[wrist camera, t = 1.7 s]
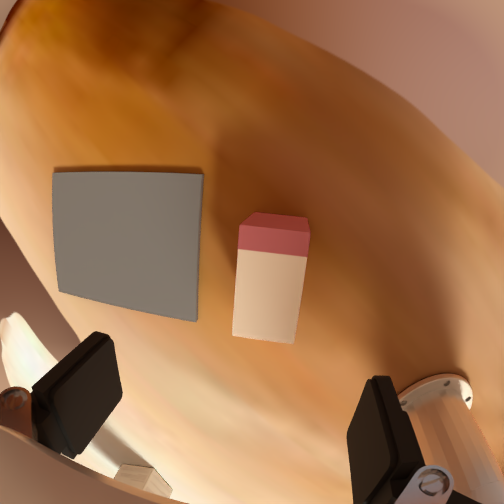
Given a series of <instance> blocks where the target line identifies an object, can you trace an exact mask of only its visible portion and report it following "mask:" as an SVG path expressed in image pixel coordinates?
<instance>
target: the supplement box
mask: <svg viewBox="0 0 504 504" xmlns="http://www.w3.org/2000/svg"><path fill="white" fill-rule="evenodd" d="M114 480H117V481H119V482H122V483H125V484H127V485H130V486H133V487H135V488H138V489H141V490H144V491H147V492H150V493H153V494H156V495H159V496H163V497H166V498H170V495H171V493H172V488H171V487H170V486H169V485H168V484H167V483H166V482H165V481H164V480H163V479H162V477H161V476H160V475H159V474H158V473H157V472H156V470H155V469H154V468H149V467H141V466H134V465H127V464H122V465H121V467H120V469H119V470H118V472H117V474H116V475H115V477H114Z"/></svg>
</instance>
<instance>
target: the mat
mask: <svg viewBox="0 0 504 504" xmlns="http://www.w3.org/2000/svg"><path fill="white" fill-rule="evenodd" d="M203 180H204V174H185V173H160V172H60V173H53V179H52V213H53V237H54V251H55V263H56V272H57V281H58V288H59V292H63V293H67V294H70V295H74V296H78V297H82V298H86V299H90V300H94V301H98V302H102V303H106V304H110V305H114V306H119V307H123V308H127V309H132V310H136V311H141V312H146V313H151V314H155V315H160V316H165V317H170V318H176V319H181V320H186V321H192V322H196V321H197V320H198V280H199V252H200V230H201V211H202V195H203Z"/></svg>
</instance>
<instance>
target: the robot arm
mask: <svg viewBox="0 0 504 504" xmlns="http://www.w3.org/2000/svg"><path fill="white" fill-rule="evenodd" d="M32 390H33V391H32V392H31V393H29V391H28V390H26V389H25V388H22V387H10V388H8V389H5V390H4V391H2V392H1V394H0V504H188V503H184V502H180V501H177V500H173V499H169V498H166V497H163V496H159V495H156V494H153V493H150V492H147V491H144V490H141V489H138V488H135V487H133V486H130V485H127V484H125V483H122V482H119V481H117V480H114V479H112V478H109V477H107V476H105V475H102V474H100V473H98V472H95V471H93V470H91V469H89V468H87V467H85V466H82V465H80V464H78V463H76V462H74V461H72V460H70V459H68V458H66V457H64V456H62V455H60V454H61V452H62V454H64V455H65V456H67V457H69V458H71V459H74V458H75V457H76V455H77V454H81V453H82V452H83V451H84V449H85V448H86V447H87V445H88V444H89V442H90V441H91V440H92V438H93V437H94V436H95V434H96V433H97V431H98V430H99V429H100V427H101V426H102V425H103V423H104V422H105V420H106V419H107V418H108V416H109V415H110V414H111V412H112V411H113V410H114V408H115V407H116V405H117V404H118V403H119V401H120V400H121V398H122V393H123V392H122V387H121V382H120V376H119V371H118V366H117V360H116V354H115V348H114V342H113V340H112V339H111V338H110V336H109V335H108V334H104V333H101V332H97V331H95V332H93V333H92V334H91V335H90V336H88V337H87V338H86V339H85V340H84V341H83V342H81V343H80V344H79V345H78V346H77V347H76V348H75V349H74V350H72V351H71V352H70V353H69V354H68V355H67V356H65V357H64V358H63V359H62V360H61V361H60V362H59V363H58V364H56V365H55V366H54V367H53V368H52V369H51V370H50V371H49V372H48V373H46V374H45V375H44V376H43V377H42V378H41V379H40V380H39V381H38V382H37V383H35V384H34V385H33V386H32ZM472 401H473V392H472V388H471V387H470V385H469V383H468V382H467V381H466V379H465V378H463V377H461V376H460V375H456V374H439V375H434V376H431V377H428V378H425V379H423V380H421V381H419V382H417V383H415V384H413V385H412V386H410V387H408V388H407V389H406V390H404V391H403V392H402V393H400V394H399V395H398V396H397V394H396V391H395V388H394V386H393V383H392V381H391V378H390V376H373V377H372V379H368V380H367V382H366V384H365V387H364V390H363V393H362V395H361V398H360V401H359V403H358V406H357V408H356V411H355V413H354V416H353V418H352V421H351V423H350V426H349V428H348V431H347V445H348V454H349V463H350V472H351V482H352V493H353V504H504V475H503V473H502V471H501V469H500V467H499V465H498V463H497V461H496V458H495V456H494V454H493V452H492V450H491V449H490V447H489V445H488V443H487V441H486V439H485V437H484V435H483V433H482V431H481V429H480V428H479V426H478V424H477V422H476V420H475V419H474V417H473V415H472V413H471V412H470V408H471V405H472Z"/></svg>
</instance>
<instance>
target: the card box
mask: <svg viewBox="0 0 504 504" xmlns="http://www.w3.org/2000/svg"><path fill="white" fill-rule="evenodd" d="M310 234H311V232H310V228H309V223H308V219H307V218H305V217H297V216H288V215H279V214H270V213H260V212H254V213H253V214H251V215H250V216H249V217H248V218H247V219H246V220H244V221H243V222H242V223H241V224H240V225H239V238H238V257H237V271H236V284H235V299H234V313H233V328H232V336H238V337H245V338H251V339H258V340H266V341H273V342H281V343H289V344H294V340H295V334H296V328H297V322H298V316H299V310H300V303H301V297H302V290H303V283H304V276H305V269H306V262H307V257H308V250H309V242H310Z"/></svg>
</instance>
